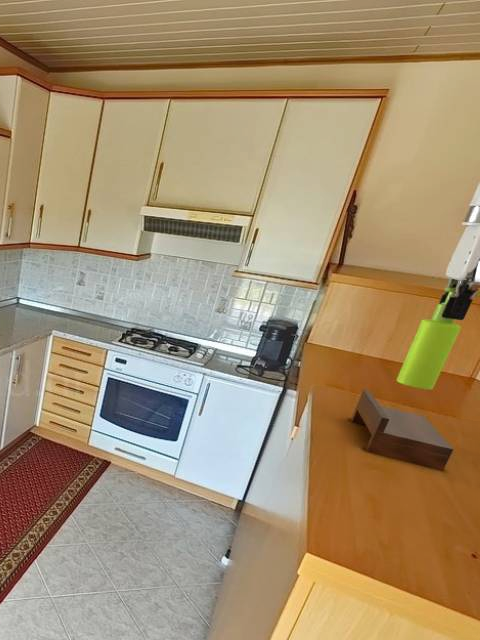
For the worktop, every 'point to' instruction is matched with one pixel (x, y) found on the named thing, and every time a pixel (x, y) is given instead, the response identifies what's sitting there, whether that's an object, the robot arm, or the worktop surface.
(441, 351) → the soap dispenser
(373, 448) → the wooden toy bed
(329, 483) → the worktop surface
